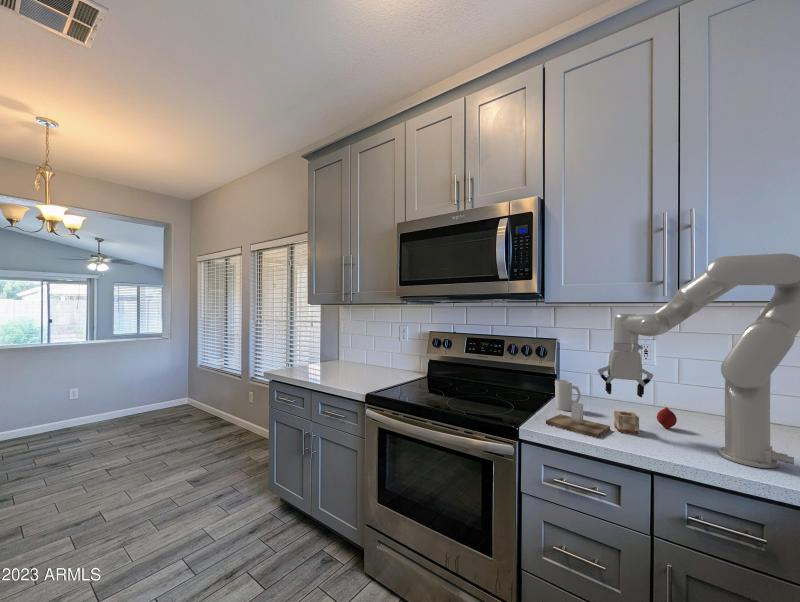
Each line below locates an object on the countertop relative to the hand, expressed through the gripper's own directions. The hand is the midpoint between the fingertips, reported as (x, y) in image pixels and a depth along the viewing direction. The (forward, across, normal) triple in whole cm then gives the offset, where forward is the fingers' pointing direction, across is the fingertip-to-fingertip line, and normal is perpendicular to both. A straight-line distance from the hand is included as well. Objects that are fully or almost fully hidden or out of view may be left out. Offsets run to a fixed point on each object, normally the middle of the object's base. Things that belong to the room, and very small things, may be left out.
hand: (624, 394), depth 127 cm
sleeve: (+13, -1, 0) cm, 13 cm away
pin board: (+13, +15, +3) cm, 20 cm away
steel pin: (+11, +15, +3) cm, 19 cm away
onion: (+13, -16, -7) cm, 21 cm away
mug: (+14, +16, -21) cm, 29 cm away
